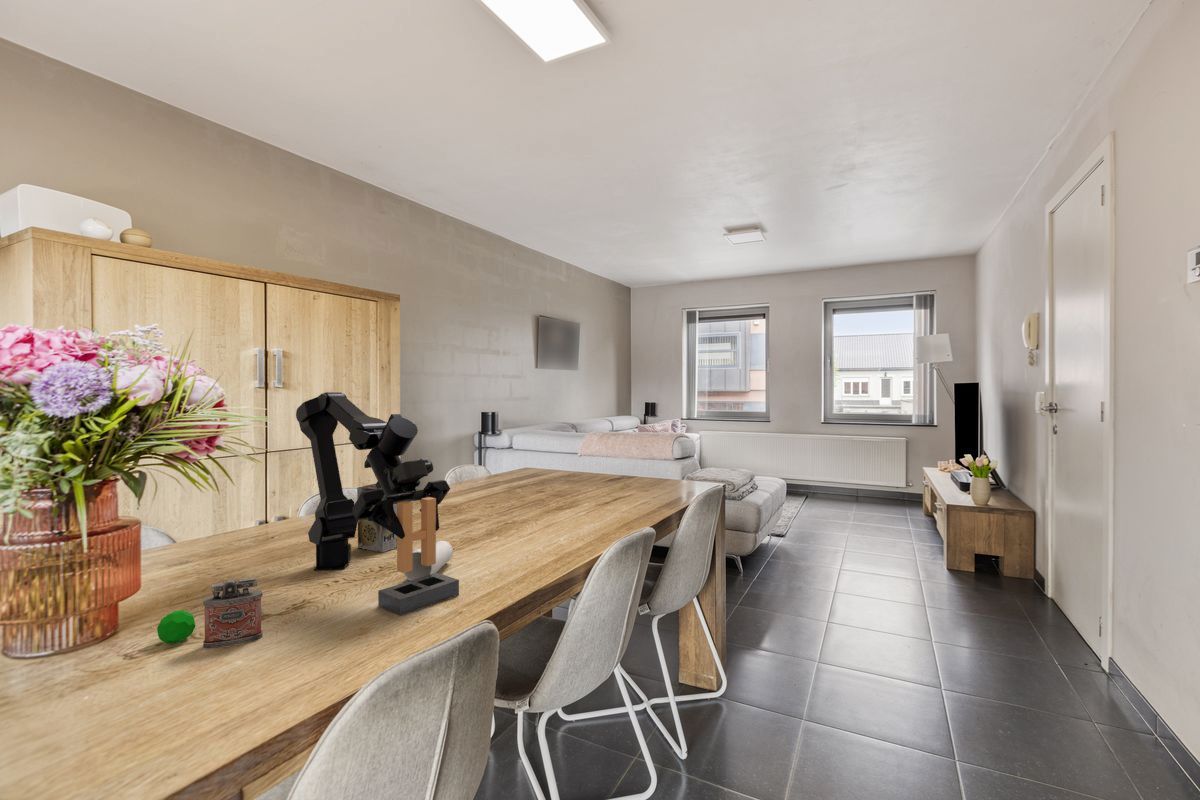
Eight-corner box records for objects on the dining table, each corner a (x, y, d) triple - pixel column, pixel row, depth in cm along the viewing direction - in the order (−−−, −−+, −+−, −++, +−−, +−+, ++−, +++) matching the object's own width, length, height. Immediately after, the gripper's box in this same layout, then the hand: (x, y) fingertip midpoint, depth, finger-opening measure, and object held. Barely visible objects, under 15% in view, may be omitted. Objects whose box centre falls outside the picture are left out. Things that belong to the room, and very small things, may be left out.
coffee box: (401, 546, 144) (401, 485, 144) (382, 553, 138) (382, 489, 138) (376, 542, 148) (376, 482, 148) (356, 548, 142) (356, 486, 142)
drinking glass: (457, 564, 130) (433, 582, 116) (430, 566, 131) (402, 584, 116) (455, 536, 131) (431, 549, 116) (428, 537, 131) (400, 552, 116)
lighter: (201, 651, 86) (201, 587, 86) (205, 642, 89) (205, 581, 89) (261, 640, 90) (261, 579, 90) (263, 632, 93) (263, 573, 93)
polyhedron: (179, 648, 87) (179, 618, 87) (149, 648, 87) (148, 618, 87) (202, 634, 92) (202, 606, 92) (173, 634, 92) (173, 606, 92)
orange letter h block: (403, 573, 103) (403, 504, 103) (397, 570, 104) (397, 502, 104) (435, 563, 109) (435, 498, 109) (429, 561, 110) (429, 497, 110)
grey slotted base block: (400, 615, 100) (400, 599, 100) (378, 606, 104) (378, 590, 104) (458, 594, 110) (458, 579, 110) (436, 586, 115) (436, 572, 115)
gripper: (360, 448, 101) (393, 516, 95) (445, 441, 116) (478, 500, 109) (339, 486, 106) (369, 553, 100) (423, 475, 121) (454, 533, 114)
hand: (421, 533), depth 106 cm, fingers closed on orange letter h block, 7 cm apart
